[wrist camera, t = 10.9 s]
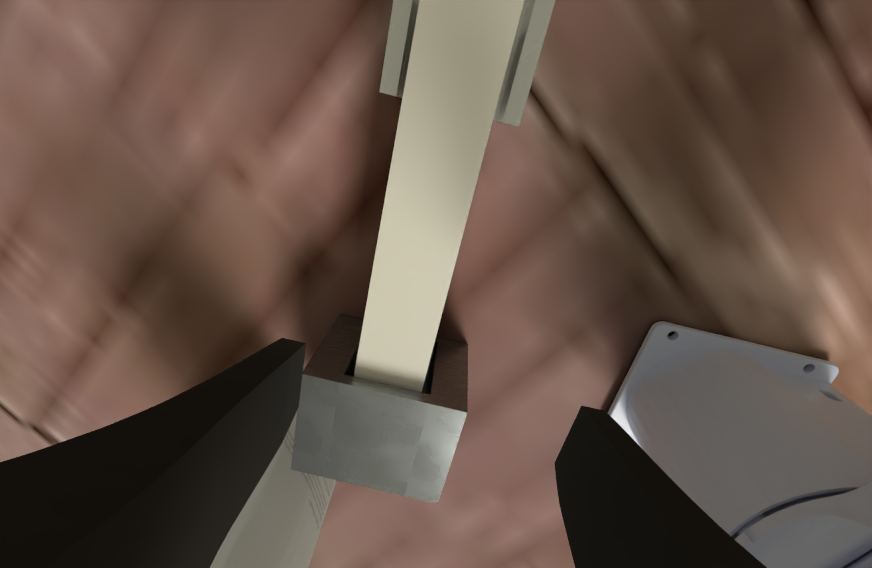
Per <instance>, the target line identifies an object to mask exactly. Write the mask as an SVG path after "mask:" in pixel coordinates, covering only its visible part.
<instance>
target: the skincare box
mask: <svg viewBox="0 0 872 568" xmlns="http://www.w3.org/2000/svg"><path fill="white" fill-rule="evenodd" d="M296 418H297V412H296V414H295V416H294V419H293V421H292V423H291V425H290V428H289V430H288V432H287V434H286V436H285V438H284V440H283V443H282V444H281V446H280V448H279V449H278V451H277V453H276V454H275V456H274V458H273V459H272V461H271V463H270V464H269V466H268V468H267V469H266V471H265V473H264V474H263V476H262V478H261V479H260V481H259V483H258V484H257V486H256V488H255V489H254V491H253V493H252V494H251V496H250V497H249V499H248V501H247V502H246V504H245V506H244V507H243V509H242V511H241V512H240V514H239V516H238V517H237V519H236V521H235V522H234V524H233V525H232V527H231V529H230V531H229V532H228V534H227V536H226V538H225V540H224V541H223V543H222V545H221V547H220V549H219V550H218V552H217V554H216V556H215V558H214V560H213V562H212V564H211V566H210V568H309V564H310V561H311V558H312V555H313V552H314V549H315V546H316V542H317V539H318V536H319V533H320V530H321V527H322V524H323V521H324V518H325V515H326V511H327V508H328V505H329V502H330V499H331V496H332V493H333V490H334V487H335V484H336V480H334V479H329V478H325V477H321V476H316V475H312V474H308V473H303V472H299V471H295V470H291V463H292V454H293V445H294V436H295V427H296Z"/></svg>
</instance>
